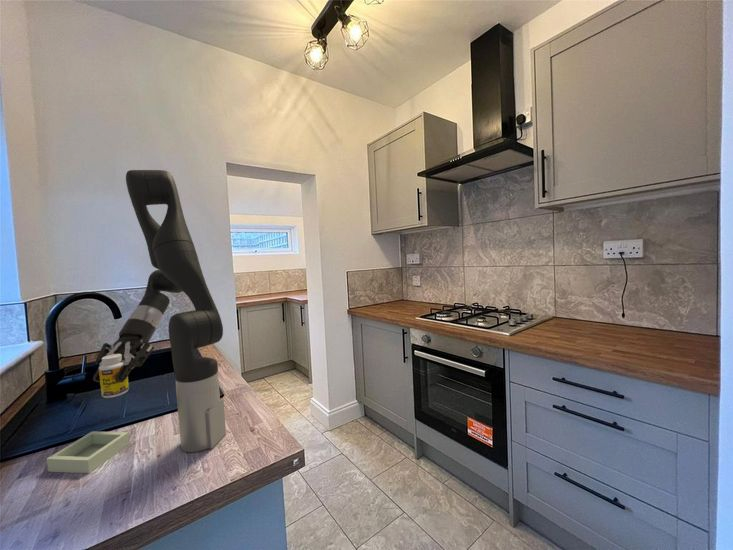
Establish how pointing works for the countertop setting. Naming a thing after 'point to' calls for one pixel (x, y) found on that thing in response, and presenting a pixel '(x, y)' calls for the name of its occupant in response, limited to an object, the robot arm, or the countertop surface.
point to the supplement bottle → (112, 376)
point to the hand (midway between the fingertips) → (107, 381)
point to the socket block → (88, 452)
